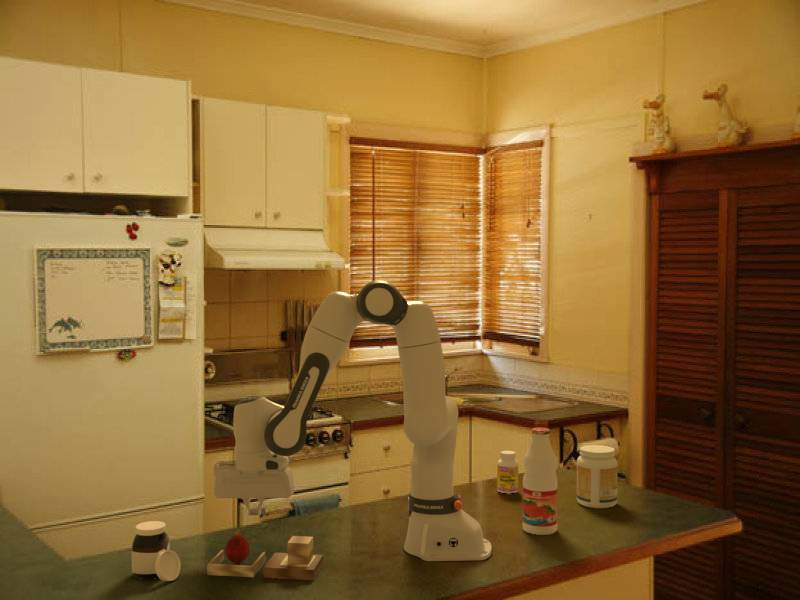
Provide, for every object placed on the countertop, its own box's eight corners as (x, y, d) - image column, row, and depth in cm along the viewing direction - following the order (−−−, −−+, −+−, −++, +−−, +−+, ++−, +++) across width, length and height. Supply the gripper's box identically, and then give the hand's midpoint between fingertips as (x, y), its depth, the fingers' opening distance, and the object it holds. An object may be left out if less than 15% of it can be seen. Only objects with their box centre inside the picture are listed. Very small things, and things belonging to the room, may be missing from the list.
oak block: (313, 557, 203) (313, 536, 203) (308, 564, 198) (308, 543, 198) (292, 556, 204) (292, 535, 204) (287, 563, 199) (287, 542, 199)
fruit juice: (561, 527, 235) (562, 427, 233) (551, 537, 226) (552, 433, 225) (528, 522, 239) (529, 424, 237) (517, 532, 230) (518, 430, 229)
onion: (245, 569, 202) (244, 536, 202) (222, 568, 204) (221, 535, 203) (253, 561, 208) (252, 528, 208) (231, 560, 209) (230, 528, 209)
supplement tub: (616, 499, 262) (617, 445, 261) (617, 510, 250) (618, 454, 250) (576, 496, 265) (577, 443, 264) (575, 507, 253) (576, 452, 252)
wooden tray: (323, 565, 206) (323, 554, 206) (313, 580, 196) (313, 569, 196) (221, 559, 209) (221, 549, 209) (207, 574, 199) (207, 563, 199)
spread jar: (142, 566, 205) (141, 518, 204) (188, 566, 205) (188, 519, 204) (124, 585, 193) (123, 535, 192) (173, 586, 193) (173, 535, 192)
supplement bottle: (496, 494, 268) (496, 454, 267) (497, 488, 274) (497, 449, 273) (517, 495, 266) (518, 455, 266) (518, 489, 273) (518, 450, 272)
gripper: (208, 463, 212) (211, 518, 213) (288, 463, 209) (290, 518, 210) (217, 458, 218) (219, 511, 219) (294, 457, 216) (296, 511, 216)
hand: (255, 514), depth 214 cm, fingers closed
